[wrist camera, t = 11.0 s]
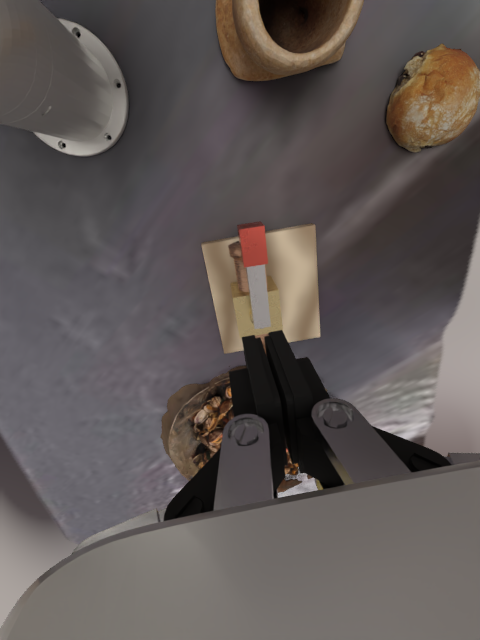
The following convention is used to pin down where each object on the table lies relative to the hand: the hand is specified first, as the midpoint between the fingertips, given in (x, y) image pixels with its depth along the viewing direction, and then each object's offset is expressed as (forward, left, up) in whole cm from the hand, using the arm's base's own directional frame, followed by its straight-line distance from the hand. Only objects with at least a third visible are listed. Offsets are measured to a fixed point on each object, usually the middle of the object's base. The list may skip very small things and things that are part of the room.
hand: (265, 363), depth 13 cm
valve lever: (+2, -5, -25) cm, 25 cm away
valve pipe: (+2, -10, -32) cm, 34 cm away
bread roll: (+27, +11, -34) cm, 45 cm away
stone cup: (+10, +20, -34) cm, 41 cm away
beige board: (+4, -10, -34) cm, 36 cm away
